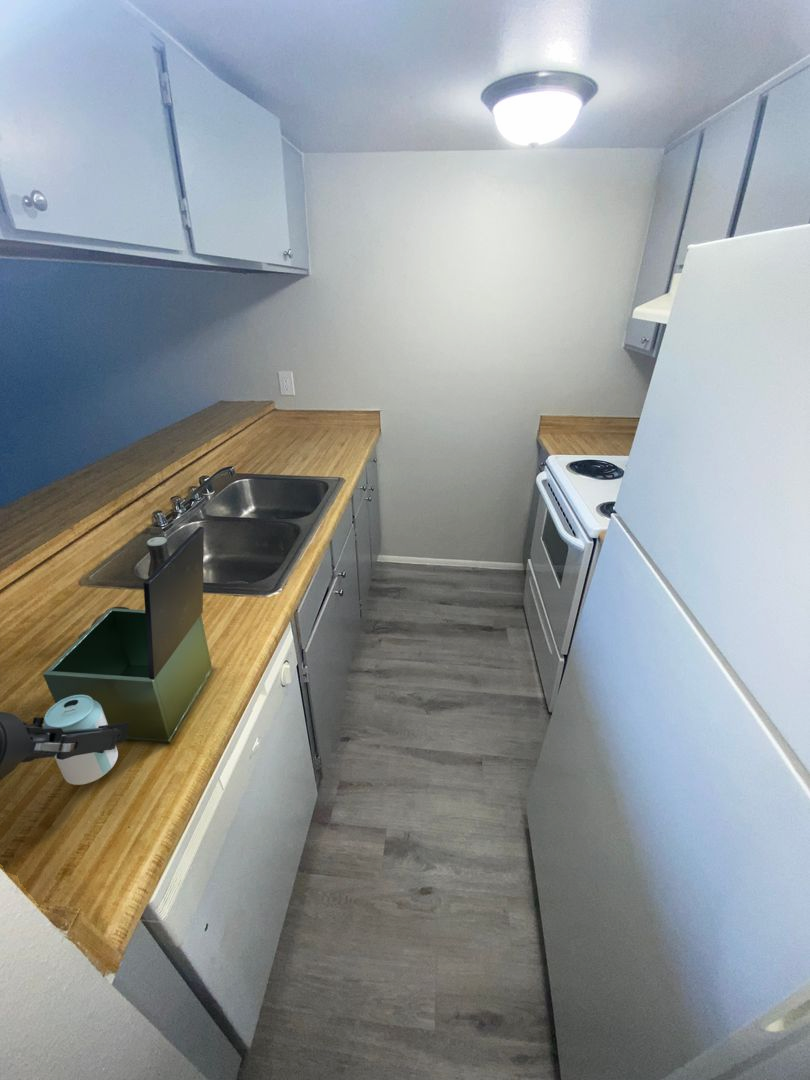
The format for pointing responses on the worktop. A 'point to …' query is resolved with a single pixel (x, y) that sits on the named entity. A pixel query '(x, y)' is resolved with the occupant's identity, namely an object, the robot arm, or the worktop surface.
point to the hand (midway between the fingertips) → (100, 730)
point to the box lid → (173, 600)
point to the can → (73, 717)
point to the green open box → (133, 675)
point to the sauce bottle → (157, 553)
